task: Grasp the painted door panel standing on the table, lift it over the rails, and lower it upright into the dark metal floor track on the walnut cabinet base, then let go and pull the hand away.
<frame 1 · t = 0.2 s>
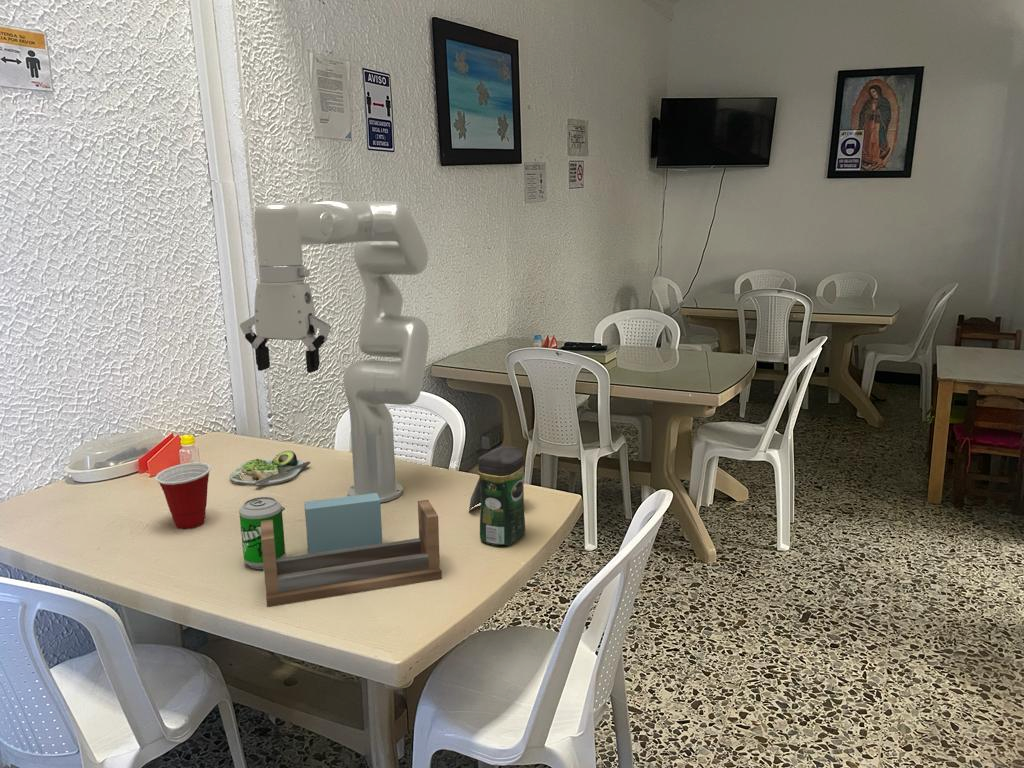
hand: (288, 370, 138), 36 cm above the table, tool pointing down, fingers open, 9 cm apart
toilet tissue: (496, 510, 168), on the table
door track: (353, 577, 137), on the table
soda can: (265, 563, 144), on the table
coffee jar: (502, 538, 154), on the table
door panel: (345, 548, 149), on the table
salad plate: (270, 475, 192), on the table
plastic cup: (189, 524, 161), on the table
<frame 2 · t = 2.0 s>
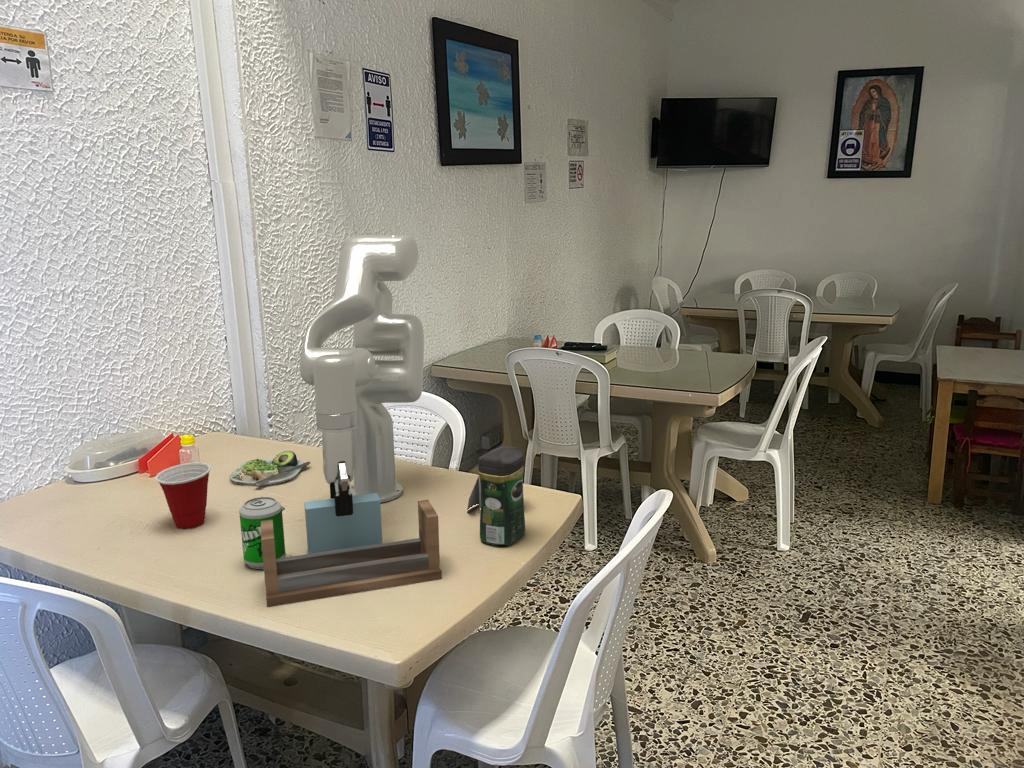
hand: (341, 506, 146), 9 cm above the table, tool pointing down, fingers open, 9 cm apart
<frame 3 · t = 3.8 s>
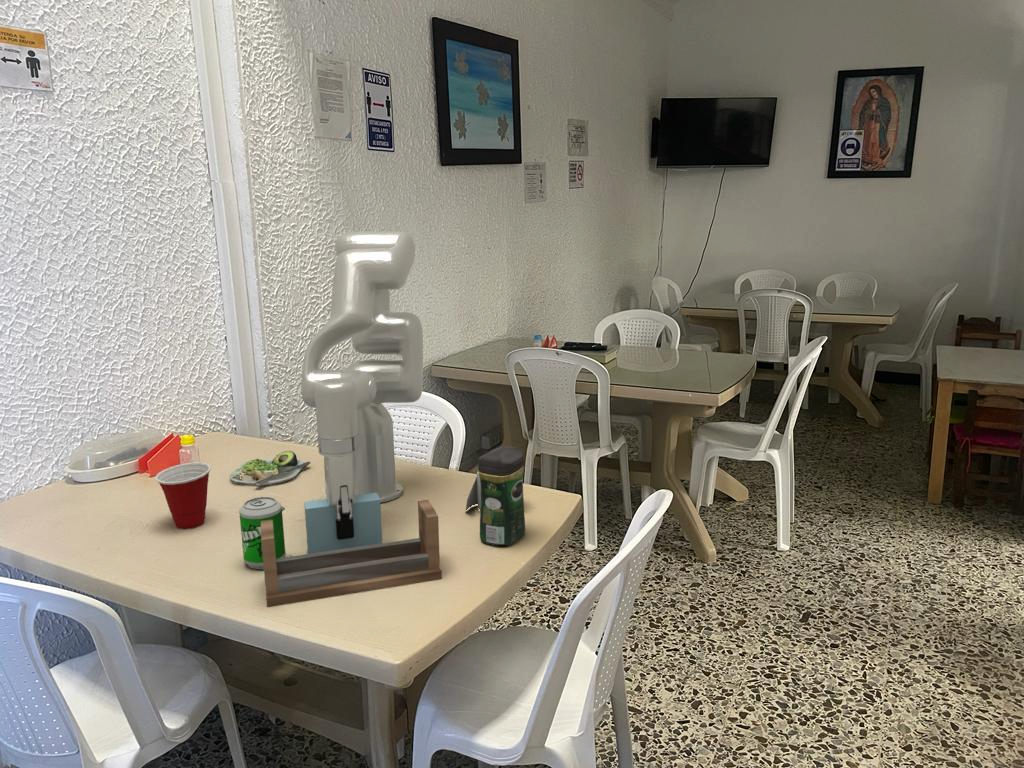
hand: (344, 532, 148), 3 cm above the table, tool pointing down, fingers closed on door panel, 4 cm apart
door panel: (345, 548, 149), on the table, touching gripper
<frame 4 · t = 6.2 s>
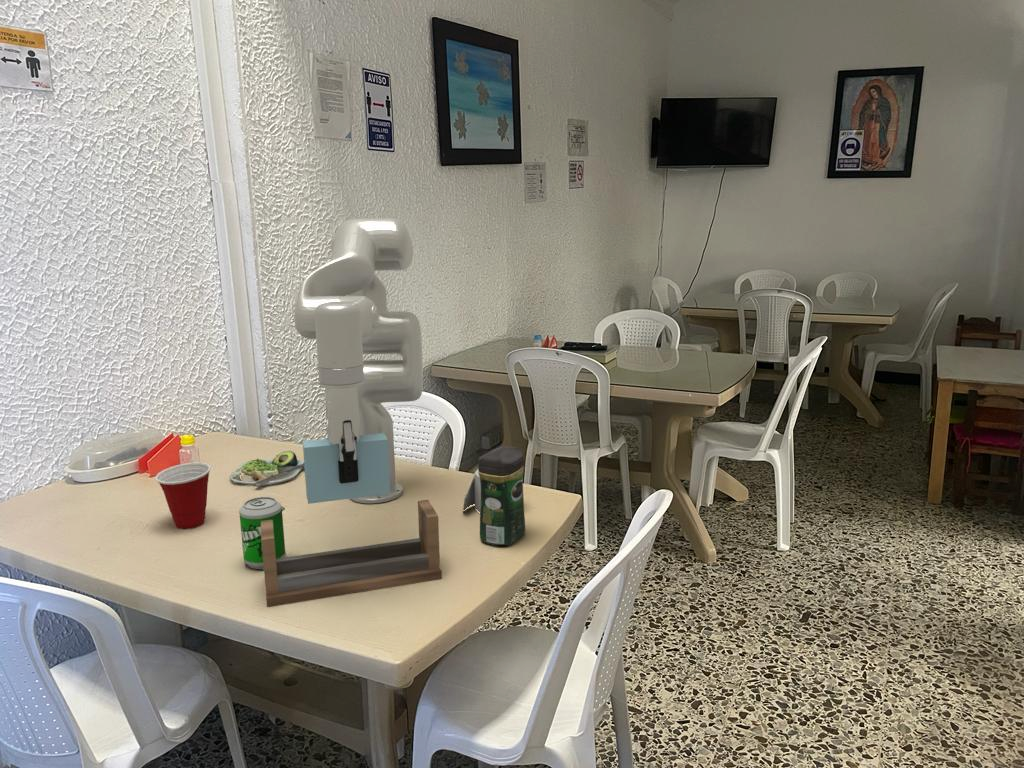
hand: (347, 476, 133), 19 cm above the table, tool pointing down, fingers closed on door panel, 4 cm apart
door panel: (348, 494, 134), point 16 cm above the table, touching gripper
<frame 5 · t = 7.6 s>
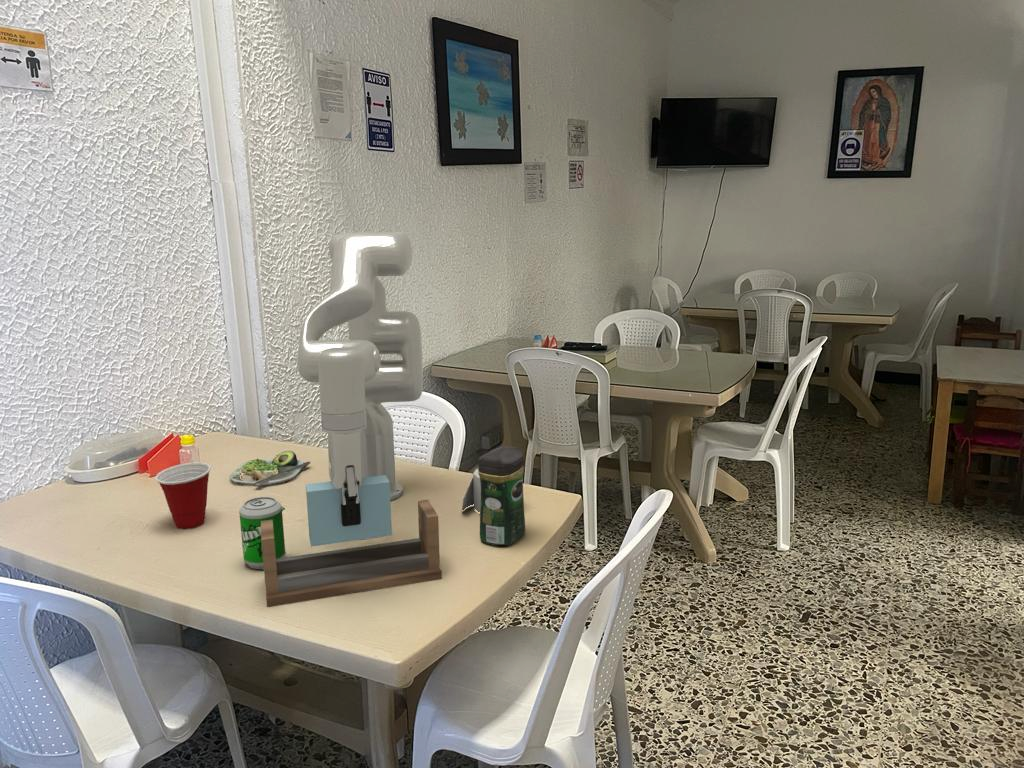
hand: (349, 518, 134), 12 cm above the table, tool pointing down, fingers closed on door panel, 4 cm apart
door panel: (350, 536, 135), point 8 cm above the table, touching gripper
when the fingers open (6 cm above the table, at t = 8.9 s): door panel drops 1 cm, resting on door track.
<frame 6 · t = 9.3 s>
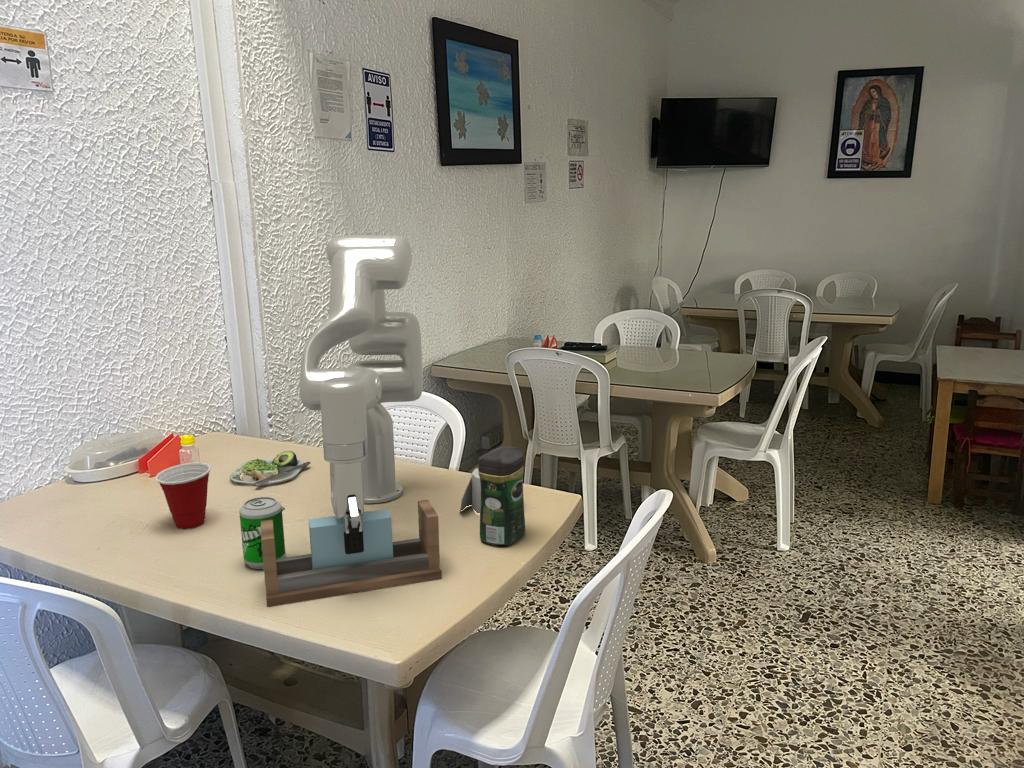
hand: (351, 541, 136), 7 cm above the table, tool pointing down, fingers open, 8 cm apart
door panel: (353, 570, 137), point 1 cm above the table, touching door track
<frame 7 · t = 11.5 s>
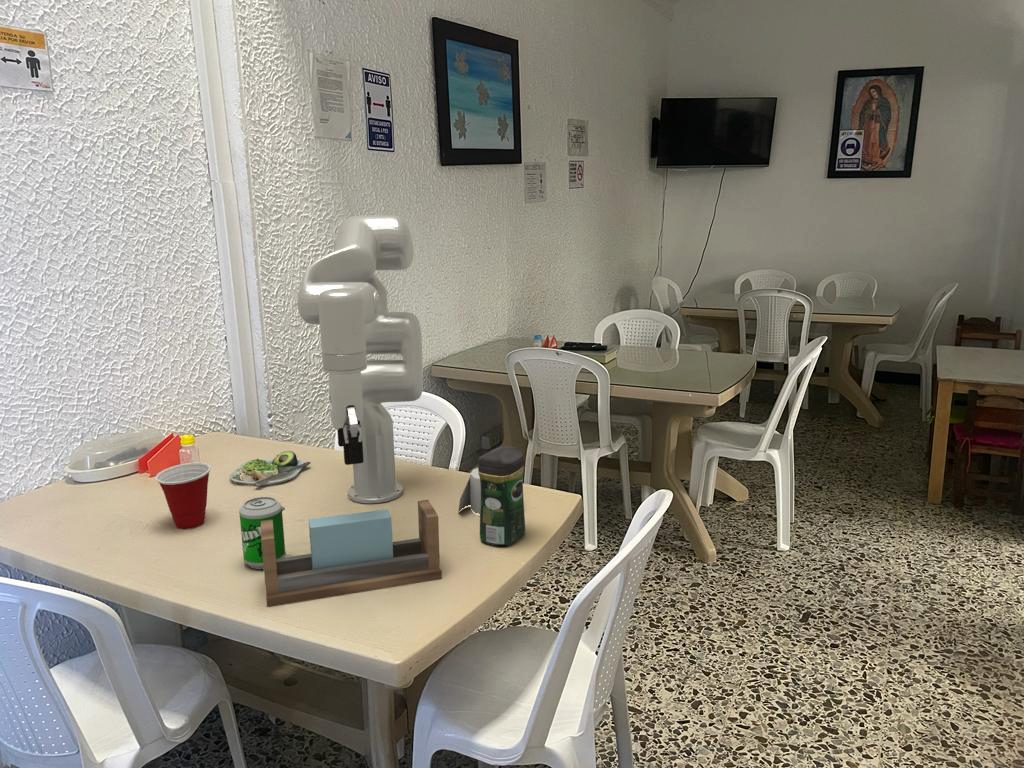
hand: (350, 454, 136), 22 cm above the table, tool pointing down, fingers open, 9 cm apart
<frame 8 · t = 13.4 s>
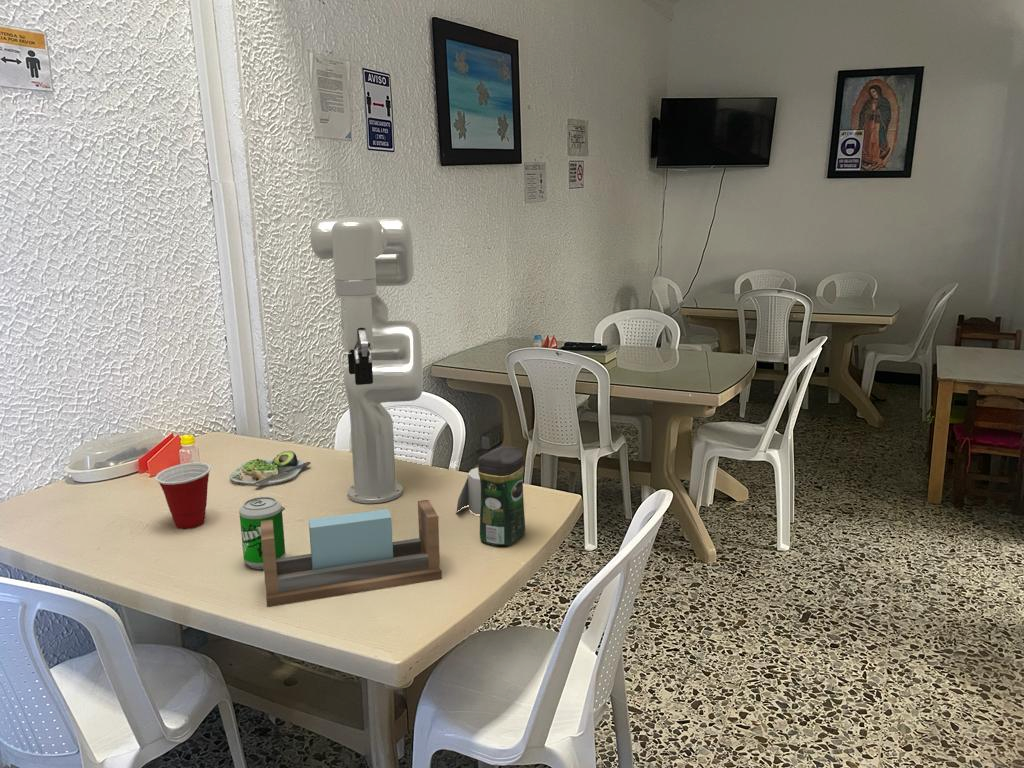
hand: (360, 378, 145), 33 cm above the table, tool pointing down, fingers open, 9 cm apart
at the end: door panel inside the target area on the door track (0.1 cm from its centre), point 1.5 cm above the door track's base; door panel tilted 0°; the gripper is holding nothing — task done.
